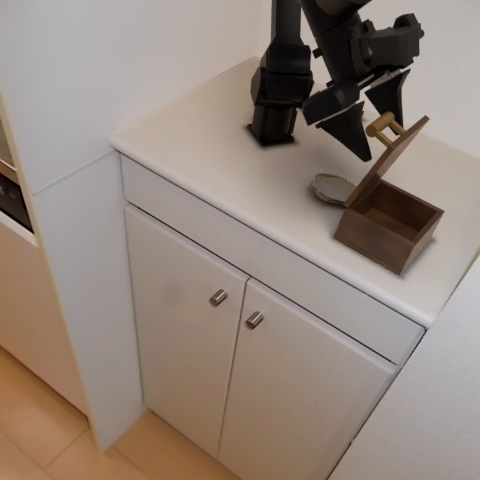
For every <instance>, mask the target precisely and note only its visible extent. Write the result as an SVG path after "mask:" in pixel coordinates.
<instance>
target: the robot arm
mask: <svg viewBox="0 0 480 480" xmlns="http://www.w3.org/2000/svg"><path fill="white" fill-rule="evenodd" d="M372 1H373V0H271V7H270V8H271V9H270V10H271V11H270V20H271V21H270V41H269V44H268V46H267V48H265V49H266V50H265V51H264V52H263V55H262V56H261V59H260V60H259V66H258V67H257V68H256V70H255V72H254V74H253V75H252V77H251V79H250V91H249V93H250V96H251V100H252V104H253V107H254V109H253V113H252V120H251V123H248V124H246V129H247V130H248V131H249V133H250V134H251V135H252V137H253V138H254V139H255V140H256V141H257V143H258V145H260V146H261V147H263V148H265V147H271V146H277V145H278V146H279V145H286V144H293V143H295V141H296V138H295V137H294V136H293V133H294V131H295V125H296V122H297V117H298V110H297V109H300V110H301V111H300V112H301V115H302V117H303V118H304V121H305V124H306V126H307V127H310V126H311V125H314V127H315V128H316V129H317V130H319V129H321V130H323V131H324V132H325V133H327V134H328V135H330V136H331V137H332V138H333V139H335V140H337V141H338V142H339V143H340V144H342V145H343V146H344V147H345V148H347V149H348V150H349V151H350V152H351V153H352V154H353V155H354V156H356V157H357V158H358V159H359V160H361V161H362V163H368V162H370V161H372V160H373V155H372V151H371V147H370V144H369V141H368V138H367V137H368V136H367V134H366V132H365V127H364V125H363V122H362V120H361V113H362V110H363V111H364V106H365V103H366V101H365V99H364V100H362V101H360V102H358V101H359V100H360V99H361V91H362V90H364V89H365V88H367V87H370V88H368V89H367V90H365V91H364V92H363V93H364V95H365V97H366V98H367V100H368V101H369V102H370V103H371V105H372V106H373V107H374V109H375V110H376V111H377V113H378V114H379V117H380V116H381V115H383V114H384V113H385V112H392V113H393V114H394V120H395V121H396V122H397V123H398V124H399V125H400V126H401V127H402V128H404V129H405V127H404V114H403V113H404V112H403V85H404V84H405V82H406V79H407V77H408V76H409V74H410V73H411V71H412V70H411V69H412V68H411V67H410V68H408V67H409V66H411V65H412V64H413V63H415V61H414V58H417V57H420V53H421V52H420V51H421V50H420V49H421V48H420V40H422V38H424V37H425V30H424V29H422V24H421V22H419V20H418V19H417V16H416V15H415V13H414V12H412V13H411V12H410V13H403V14H400V15H399V16H397V17H396V18H395V20H394V22H393V26H388V27H386V28H382V29H376V28H375V25H374V22H373V21H372V20H370V18H367V19H365V20H363V21H362V17H361V15H360V13H359V11H360V10H361V9H362V8H364V7H365V6H367V5H368V4H369V3H371V2H372ZM302 12H303V15H304V17H305V19H306V22H307V24H308V27H309V30H310V31H311V34H312V36H313V38H314V41H315V43H316V46H317V47H315V49H311V47H310V45H309V44H305V43H304V40H303V39H302V36H301V27H302V26H301V25H302ZM312 56H313V57H314V60H316V59H318V58H320V57H321V58H322V60H323V63H324V65H325V67H326V70H327V72H328V75H329V77H330V80H329V81H327V82H326V83H325V86H326V88H323V89H324V90H323V89H322V90H319V91H320V92H318V91H317V92H318V93H316V92H315V93H316V94H315V95H313V94H312V95H313V96H312V97H310V96H311V93H312V90H313V87H314V86H315V79H314V73H313V70H311V69H312V68H311V62H312V61H311V60H312ZM406 68H408V69H406ZM405 69H406V70H405ZM401 70H403V71H401ZM309 97H310V98H309ZM387 128H389V130H390V131H391V132H392V133H393V134H394V135H395V136H396V137H399V136H400V135H399V134H398V133H397V132H396V131H394V130H393V129H392V128H391V127H390V126H388V127H387Z"/></svg>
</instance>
